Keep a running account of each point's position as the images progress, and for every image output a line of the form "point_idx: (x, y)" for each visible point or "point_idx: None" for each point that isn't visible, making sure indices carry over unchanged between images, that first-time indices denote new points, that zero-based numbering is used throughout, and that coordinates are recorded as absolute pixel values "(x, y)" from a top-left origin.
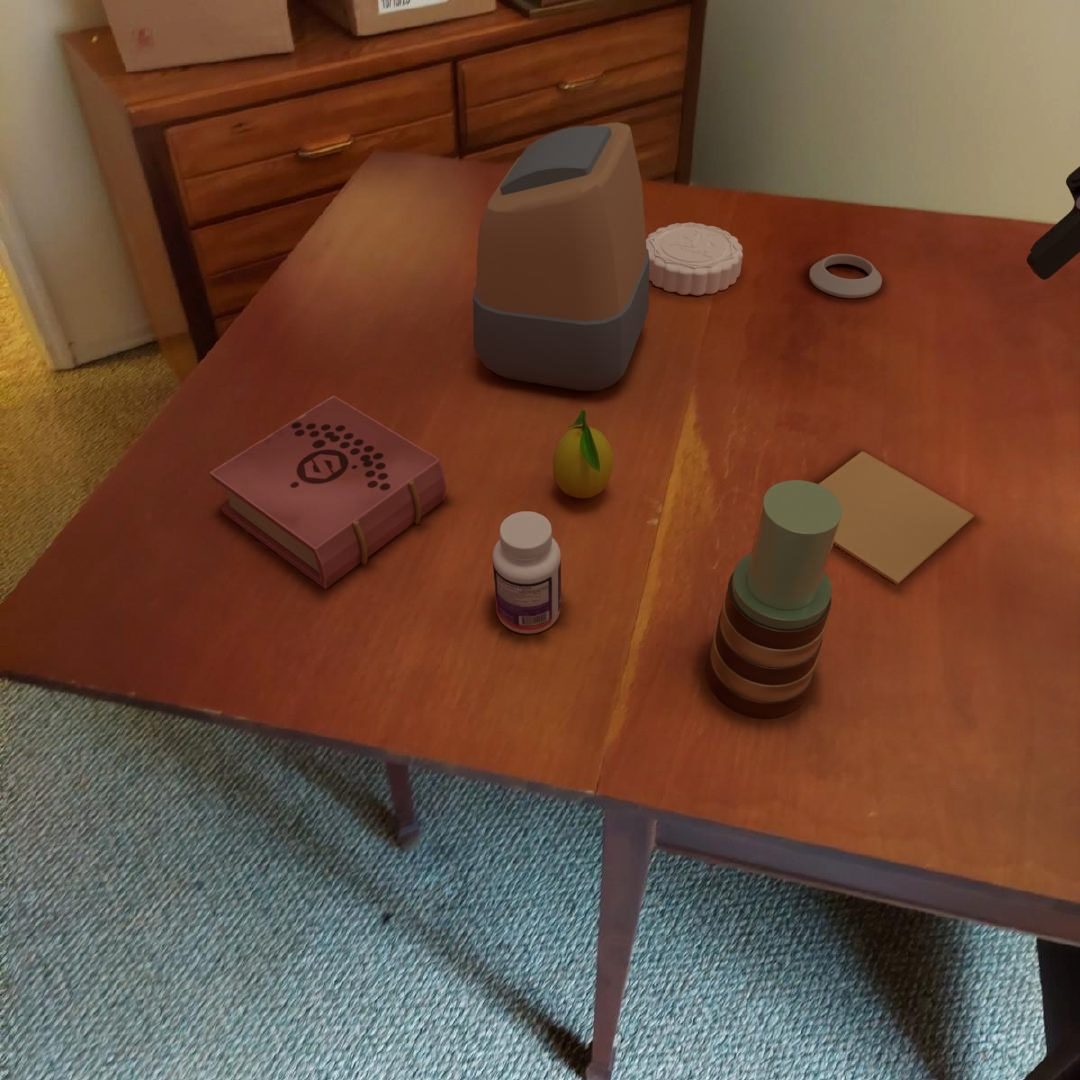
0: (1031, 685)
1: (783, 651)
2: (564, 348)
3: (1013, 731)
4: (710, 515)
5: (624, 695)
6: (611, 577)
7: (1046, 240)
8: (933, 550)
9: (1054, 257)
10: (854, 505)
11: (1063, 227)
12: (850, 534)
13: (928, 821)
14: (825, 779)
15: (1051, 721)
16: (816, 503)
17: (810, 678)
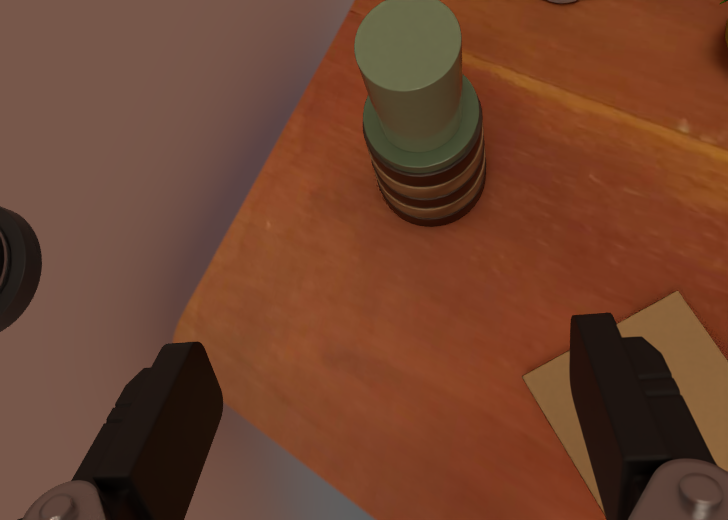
0: (354, 451)
1: None
2: None
3: (309, 398)
4: (684, 197)
5: None
6: (596, 62)
7: (623, 353)
8: (567, 449)
9: (584, 387)
10: None
11: (633, 398)
12: None
13: (249, 269)
14: (308, 198)
15: (310, 444)
16: (407, 60)
17: (389, 199)
